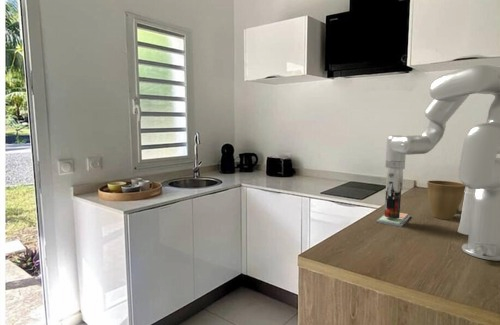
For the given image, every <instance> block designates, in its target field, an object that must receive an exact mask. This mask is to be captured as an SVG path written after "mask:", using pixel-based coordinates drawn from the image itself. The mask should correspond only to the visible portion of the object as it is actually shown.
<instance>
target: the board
mask: <svg viewBox="0 0 500 325" xmlns="http://www.w3.org/2000/svg"><path fill="white" fill-rule="evenodd" d="M384 215H385V213H384V214H383V215H381V217H379V218H378V219H377V220H376V221H375V222H376V223H377V222H378V224H385V225H389V226H396V227H400V228H402V227H403V226H404V224H406V223H407V222H408V221H409V219H411V215H409V214H408V213H404V212H400V217H399V218H388V217H385V216H384Z"/></svg>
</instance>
